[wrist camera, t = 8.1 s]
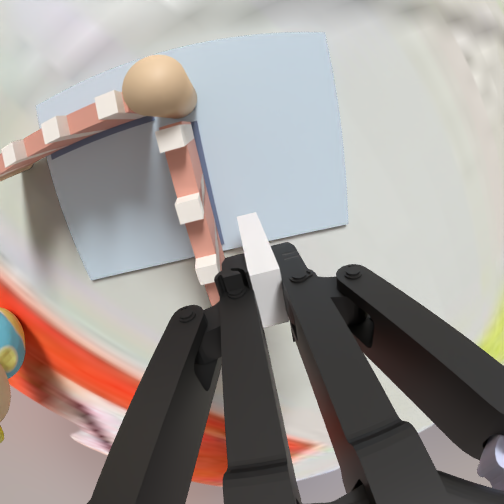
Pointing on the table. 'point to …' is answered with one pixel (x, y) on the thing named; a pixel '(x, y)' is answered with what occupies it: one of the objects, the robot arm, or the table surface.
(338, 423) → the robot arm
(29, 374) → the table surface
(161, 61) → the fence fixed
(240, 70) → the card
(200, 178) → the fence wing
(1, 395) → the toy
